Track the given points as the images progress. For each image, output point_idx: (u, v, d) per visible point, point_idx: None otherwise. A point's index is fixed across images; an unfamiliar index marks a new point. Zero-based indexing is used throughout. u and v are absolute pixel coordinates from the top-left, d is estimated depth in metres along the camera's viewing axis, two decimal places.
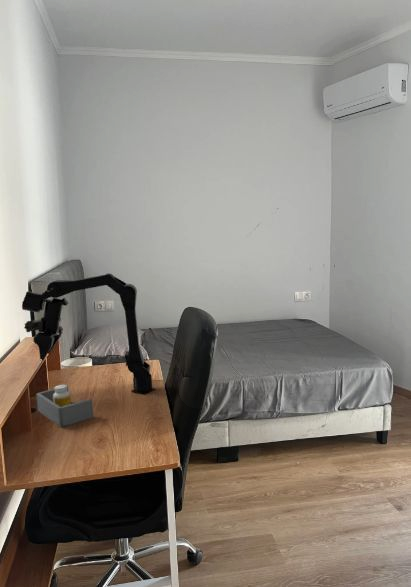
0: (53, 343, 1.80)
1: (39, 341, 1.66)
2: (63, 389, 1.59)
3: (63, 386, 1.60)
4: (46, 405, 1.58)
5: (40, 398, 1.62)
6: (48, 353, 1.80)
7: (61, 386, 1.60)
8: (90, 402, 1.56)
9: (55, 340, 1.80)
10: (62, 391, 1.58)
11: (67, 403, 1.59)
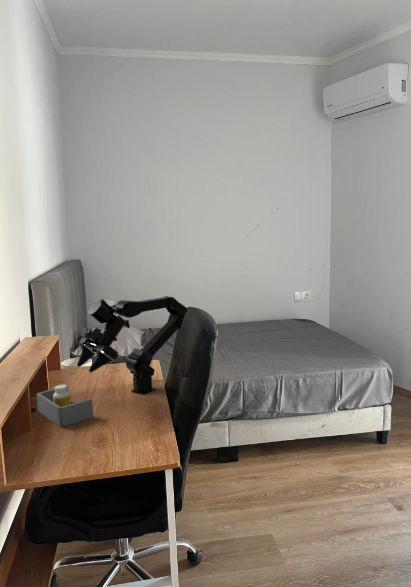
0: (87, 358, 1.71)
1: (108, 352, 1.60)
2: (63, 389, 1.59)
3: (63, 386, 1.60)
4: (46, 405, 1.58)
5: (40, 398, 1.62)
6: (78, 366, 1.68)
7: (61, 386, 1.60)
8: (90, 402, 1.56)
9: (90, 356, 1.71)
10: (62, 391, 1.58)
11: (67, 403, 1.59)
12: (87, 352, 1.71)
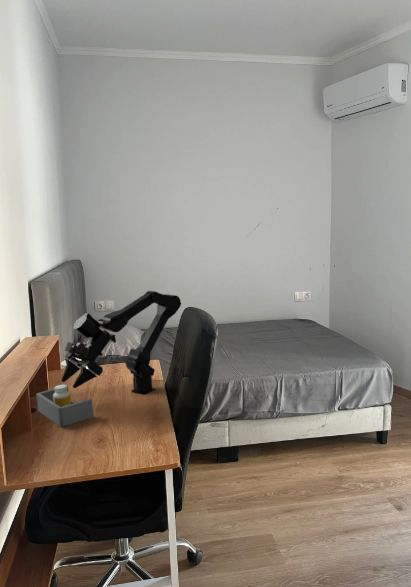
0: (72, 373, 1.67)
1: (92, 368, 1.56)
2: (63, 389, 1.59)
3: (63, 386, 1.60)
4: (46, 405, 1.58)
5: (40, 398, 1.62)
6: (63, 381, 1.65)
7: (61, 386, 1.60)
8: (90, 402, 1.56)
9: (75, 370, 1.68)
10: (62, 391, 1.58)
11: (67, 403, 1.59)
12: (72, 366, 1.67)
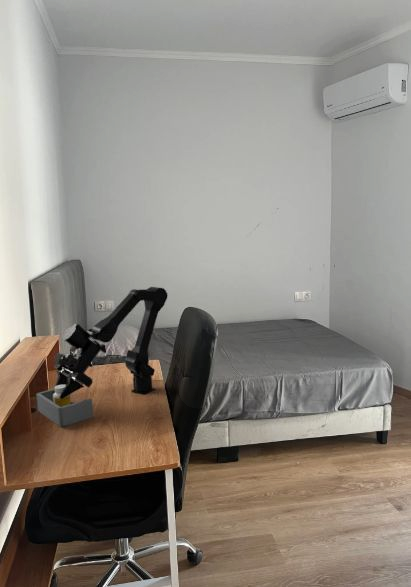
0: None
1: (82, 380, 1.54)
2: (63, 389, 1.59)
3: (63, 386, 1.60)
4: (46, 405, 1.58)
5: (40, 398, 1.62)
6: None
7: (61, 386, 1.60)
8: (90, 402, 1.56)
9: (67, 383, 1.65)
10: None
11: (67, 403, 1.59)
12: (64, 378, 1.64)
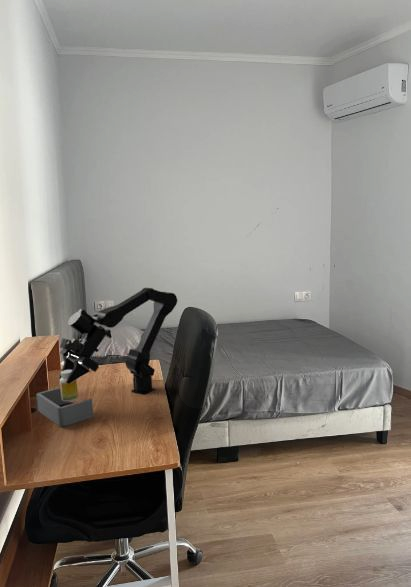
0: None
1: (88, 364, 1.55)
2: None
3: (69, 371, 1.61)
4: (46, 405, 1.58)
5: (40, 398, 1.62)
6: None
7: (67, 371, 1.61)
8: (90, 402, 1.56)
9: (73, 368, 1.66)
10: (68, 376, 1.59)
11: (74, 388, 1.60)
12: (70, 364, 1.65)
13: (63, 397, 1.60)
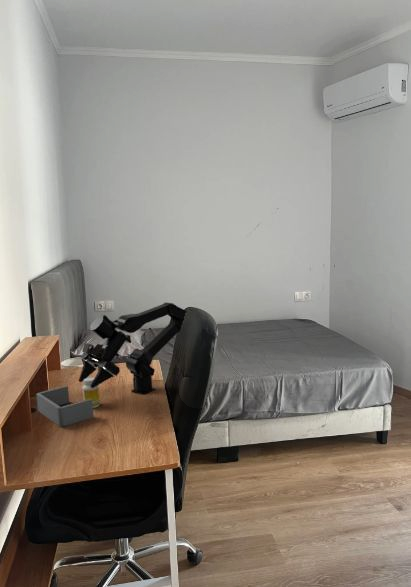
0: (89, 373, 1.71)
1: (110, 368, 1.60)
2: (92, 381, 1.65)
3: (92, 379, 1.66)
4: (46, 405, 1.58)
5: (40, 398, 1.62)
6: (80, 381, 1.69)
7: (90, 379, 1.66)
8: (90, 402, 1.56)
9: (91, 371, 1.72)
10: (91, 383, 1.65)
11: (96, 395, 1.66)
12: (88, 367, 1.71)
13: None
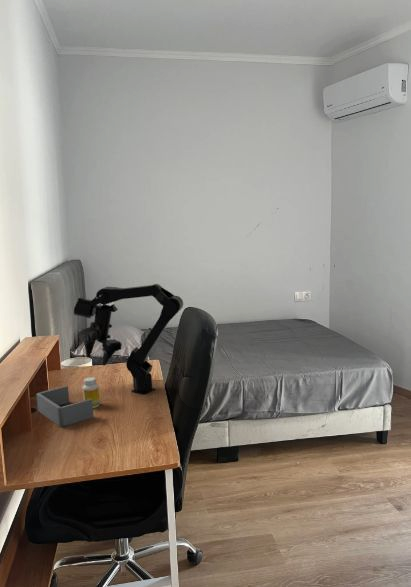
0: (92, 346, 1.84)
1: (113, 349, 1.74)
2: (92, 381, 1.65)
3: (92, 379, 1.66)
4: (46, 405, 1.58)
5: (40, 398, 1.62)
6: (88, 356, 1.84)
7: (90, 379, 1.66)
8: (90, 402, 1.56)
9: (93, 343, 1.85)
10: (91, 383, 1.65)
11: (96, 395, 1.66)
12: (89, 342, 1.83)
13: None
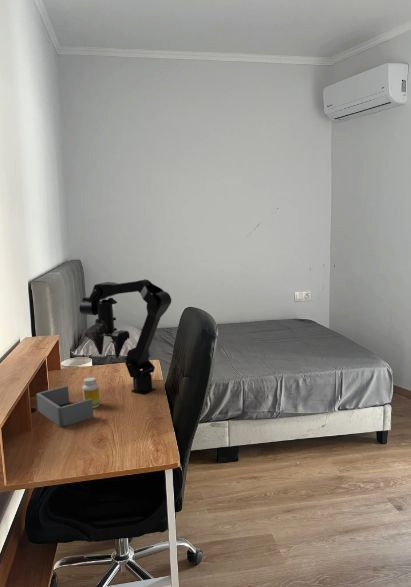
0: (101, 343, 1.89)
1: (122, 338, 1.79)
2: (92, 381, 1.65)
3: (92, 379, 1.66)
4: (46, 405, 1.58)
5: (40, 398, 1.62)
6: None
7: (90, 379, 1.66)
8: (90, 402, 1.56)
9: (102, 340, 1.90)
10: (91, 383, 1.65)
11: (96, 395, 1.66)
12: (98, 339, 1.88)
13: None
